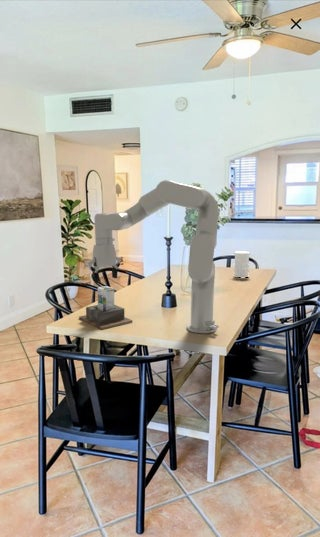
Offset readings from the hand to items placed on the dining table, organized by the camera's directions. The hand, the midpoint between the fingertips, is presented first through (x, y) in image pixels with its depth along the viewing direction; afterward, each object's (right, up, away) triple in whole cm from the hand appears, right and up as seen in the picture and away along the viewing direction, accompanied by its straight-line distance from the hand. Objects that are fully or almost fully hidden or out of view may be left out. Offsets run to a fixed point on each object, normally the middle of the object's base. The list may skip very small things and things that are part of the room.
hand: (105, 279), depth 175 cm
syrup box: (0, -18, +4) cm, 19 cm away
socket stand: (-1, -19, +4) cm, 19 cm away
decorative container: (+83, -1, +106) cm, 135 cm away
